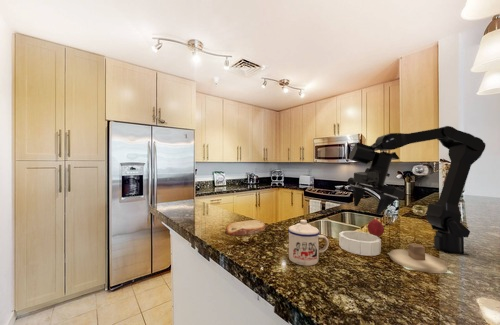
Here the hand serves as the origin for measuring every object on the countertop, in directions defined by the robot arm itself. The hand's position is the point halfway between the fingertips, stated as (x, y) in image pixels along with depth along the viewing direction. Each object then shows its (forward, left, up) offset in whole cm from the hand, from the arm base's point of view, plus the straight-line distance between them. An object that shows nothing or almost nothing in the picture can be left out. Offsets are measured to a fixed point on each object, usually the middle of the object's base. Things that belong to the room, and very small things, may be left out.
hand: (365, 209), depth 73 cm
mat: (-10, +12, -13) cm, 20 cm away
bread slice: (+46, -11, -14) cm, 49 cm away
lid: (-10, +12, -12) cm, 20 cm away
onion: (-8, -11, -13) cm, 19 cm away
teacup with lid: (+21, +16, -13) cm, 30 cm away
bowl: (+3, +4, -13) cm, 14 cm away
